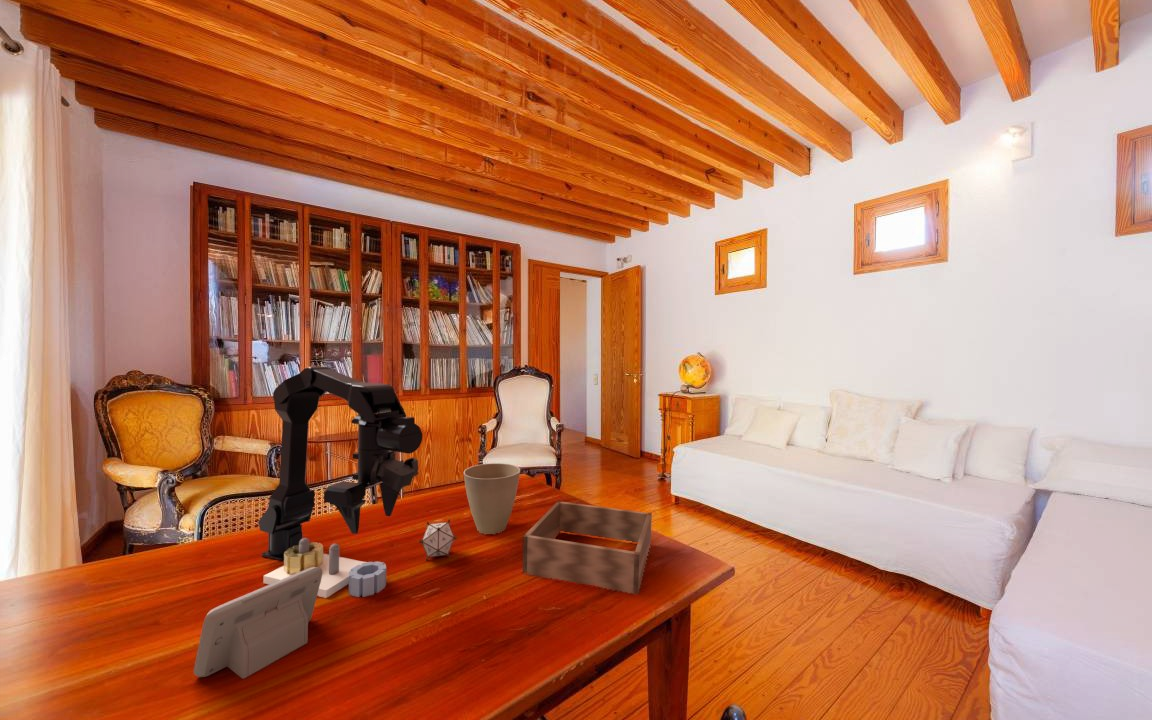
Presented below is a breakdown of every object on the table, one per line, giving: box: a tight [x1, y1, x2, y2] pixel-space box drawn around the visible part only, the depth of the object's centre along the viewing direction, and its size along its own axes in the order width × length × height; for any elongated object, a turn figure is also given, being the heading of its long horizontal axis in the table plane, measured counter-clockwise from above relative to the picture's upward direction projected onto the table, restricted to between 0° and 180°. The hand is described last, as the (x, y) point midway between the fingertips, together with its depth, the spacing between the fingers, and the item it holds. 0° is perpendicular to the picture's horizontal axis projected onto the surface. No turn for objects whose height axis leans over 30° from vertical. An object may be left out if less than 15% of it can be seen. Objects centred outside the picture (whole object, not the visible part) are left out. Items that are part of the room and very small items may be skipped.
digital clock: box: [193, 567, 322, 680], centre depth 65 cm, size 16×9×11 cm, turn 140°
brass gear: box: [283, 541, 324, 574], centre depth 88 cm, size 7×7×4 cm
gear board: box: [262, 537, 367, 599], centre depth 87 cm, size 16×11×7 cm
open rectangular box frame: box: [522, 500, 653, 595], centre depth 98 cm, size 25×23×10 cm
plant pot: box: [463, 462, 521, 535], centre depth 112 cm, size 15×15×16 cm
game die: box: [418, 518, 458, 561], centre depth 97 cm, size 9×8×10 cm
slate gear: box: [348, 560, 387, 598], centre depth 84 cm, size 7×7×4 cm
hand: (372, 524), depth 84 cm, fingers open, 9 cm apart
